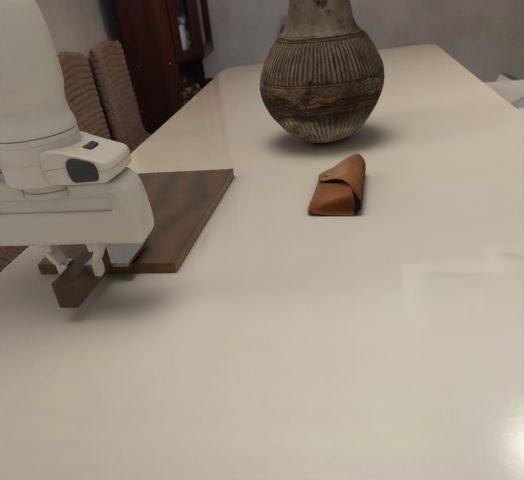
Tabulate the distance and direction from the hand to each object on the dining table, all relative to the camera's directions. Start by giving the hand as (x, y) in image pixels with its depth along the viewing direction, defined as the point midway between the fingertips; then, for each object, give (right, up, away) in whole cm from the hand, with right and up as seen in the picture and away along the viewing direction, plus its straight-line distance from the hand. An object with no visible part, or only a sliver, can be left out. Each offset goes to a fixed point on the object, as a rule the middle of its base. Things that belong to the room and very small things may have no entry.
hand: (83, 274), depth 65 cm
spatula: (+1, +1, +4) cm, 4 cm away
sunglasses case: (+34, +16, +22) cm, 44 cm away
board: (+4, +12, +22) cm, 26 cm away
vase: (+35, +35, +48) cm, 69 cm away
